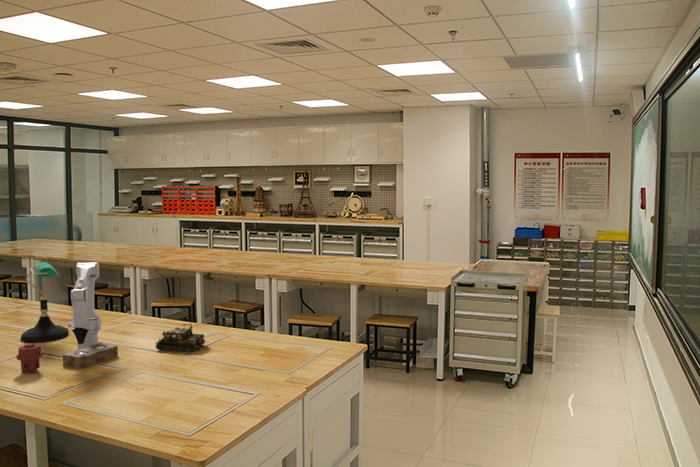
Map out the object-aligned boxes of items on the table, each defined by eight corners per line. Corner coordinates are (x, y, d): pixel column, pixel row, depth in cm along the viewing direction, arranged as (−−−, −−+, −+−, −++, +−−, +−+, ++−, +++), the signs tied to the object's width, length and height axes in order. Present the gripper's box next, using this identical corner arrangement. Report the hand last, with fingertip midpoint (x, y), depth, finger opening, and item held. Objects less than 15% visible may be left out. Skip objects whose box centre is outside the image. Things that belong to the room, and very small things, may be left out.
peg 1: (75, 364, 240) (74, 353, 239) (82, 361, 243) (82, 351, 243) (81, 365, 238) (80, 354, 238) (88, 362, 242) (88, 352, 241)
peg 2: (93, 357, 249) (93, 347, 248) (100, 355, 252) (100, 345, 252) (99, 358, 247) (99, 349, 247) (106, 356, 251) (106, 346, 250)
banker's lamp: (71, 339, 280) (68, 265, 277) (21, 346, 267) (17, 269, 264) (66, 328, 302) (63, 260, 299) (19, 334, 289) (16, 263, 286)
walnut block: (63, 365, 239) (62, 354, 238) (99, 352, 257) (99, 342, 256) (81, 368, 234) (81, 357, 233) (117, 356, 252) (117, 345, 252)
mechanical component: (32, 366, 236) (49, 369, 233) (11, 374, 227) (28, 376, 223) (31, 340, 235) (47, 342, 232) (10, 346, 226) (27, 348, 222)
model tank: (167, 344, 273) (166, 316, 272) (207, 345, 270) (207, 317, 269) (155, 351, 260) (154, 322, 259) (197, 353, 257) (196, 323, 256)
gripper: (61, 315, 238) (62, 344, 239) (83, 318, 232) (84, 347, 233) (74, 311, 245) (76, 340, 246) (97, 314, 239) (98, 343, 240)
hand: (81, 343), depth 240 cm, fingers closed
